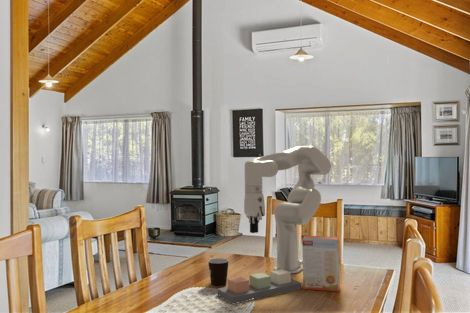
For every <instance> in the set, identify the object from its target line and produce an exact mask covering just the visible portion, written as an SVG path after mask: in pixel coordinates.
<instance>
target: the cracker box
mask: <svg viewBox="0 0 470 313" xmlns="http://www.w3.org/2000/svg"><path fill="white" fill-rule="evenodd" d="M301 244H302V260H303V264H302V284H303V285H302V288H303V290H314V291H325V292H326V291H327V292H334V293H338V292H339V291H340V245H339V244H340V243H339V236H328V235H327V236H326V235H325V236H323V235H322V236H321V235H304V236H303V237H302V243H301Z"/></svg>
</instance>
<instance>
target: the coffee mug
mask: <svg viewBox="0 0 470 313" xmlns="http://www.w3.org/2000/svg"><path fill="white" fill-rule="evenodd" d="M207 262H208V263H207V264H208V269H209V270H208V271H209V277H210V284H211V286H212V287H217V288H222V287H226V286H227V284H228V270H229V259H227V258H224V257H223V258H221V257H217V258H215V257H214V258H210V259H209V260H208V261H207Z"/></svg>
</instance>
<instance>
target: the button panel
mask: <svg viewBox="0 0 470 313" xmlns="http://www.w3.org/2000/svg"><path fill="white" fill-rule="evenodd" d="M298 290H302V282H300V281H298V280H295V279H293V278H291V282H290V283H286V284H281V285H278V284H275V283H273V282H271V287H266V288H261V289H256V288H254V287H252V286H250V281H249V291H247V292H242V293H237V294H235V293H233V292H231V291H229V290H228V286H222V287H217V290H216V292H217V294H218V295H220V296H221V298H222V297H223V298H224V299H223V298H222V299H223V300H225V299H226V300H225V301H227V300H228V301H227V302H229V303H230V302H231V303H230V304H232V303H235V304H238V303H237V302H240V303H243V302H242V301H244V302H247V301H246V300H249V299H252V298H254V300H257V299H263V298H267V297H271V296H275V295H279V294H285V293H290V292H293V291H298ZM218 295H217V296H218ZM220 296H219V297H220ZM249 301H250V300H249Z"/></svg>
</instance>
